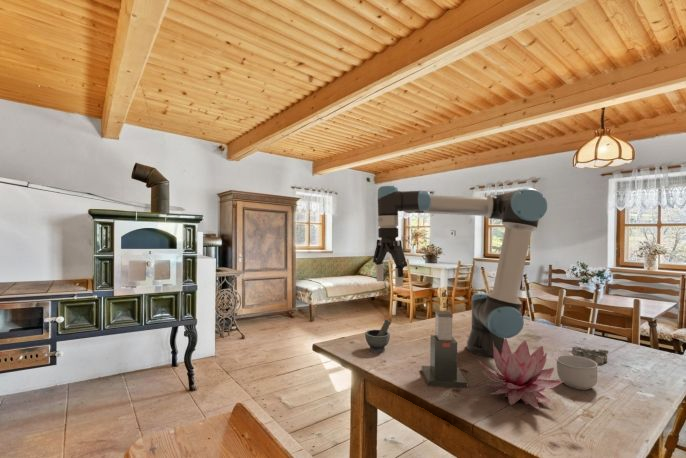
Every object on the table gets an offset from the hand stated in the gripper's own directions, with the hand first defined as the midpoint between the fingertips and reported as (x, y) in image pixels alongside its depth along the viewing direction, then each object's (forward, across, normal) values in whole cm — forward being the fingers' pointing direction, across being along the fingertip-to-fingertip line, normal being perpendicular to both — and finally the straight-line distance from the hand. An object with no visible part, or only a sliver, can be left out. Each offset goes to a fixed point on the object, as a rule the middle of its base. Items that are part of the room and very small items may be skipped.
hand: (389, 283), depth 127 cm
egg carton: (+31, +28, +72) cm, 83 cm away
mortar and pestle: (+28, -10, 0) cm, 30 cm away
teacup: (+30, +40, +44) cm, 67 cm away
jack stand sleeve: (+29, +21, +7) cm, 36 cm away
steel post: (+27, +21, +7) cm, 35 cm away
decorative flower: (+30, +39, +19) cm, 53 cm away
